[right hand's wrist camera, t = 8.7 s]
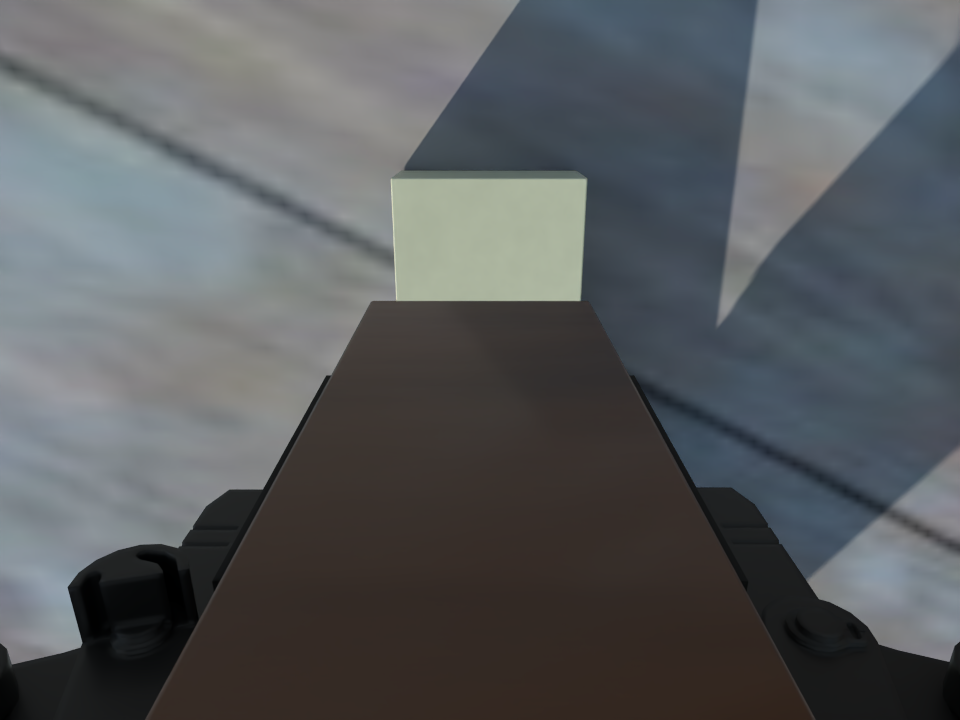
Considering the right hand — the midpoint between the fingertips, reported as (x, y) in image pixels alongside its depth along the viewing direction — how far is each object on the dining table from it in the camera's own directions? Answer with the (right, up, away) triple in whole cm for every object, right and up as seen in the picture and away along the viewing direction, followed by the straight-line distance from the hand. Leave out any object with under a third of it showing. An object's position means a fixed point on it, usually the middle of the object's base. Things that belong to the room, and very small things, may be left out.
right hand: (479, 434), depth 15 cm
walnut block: (0, +1, +2) cm, 2 cm away
